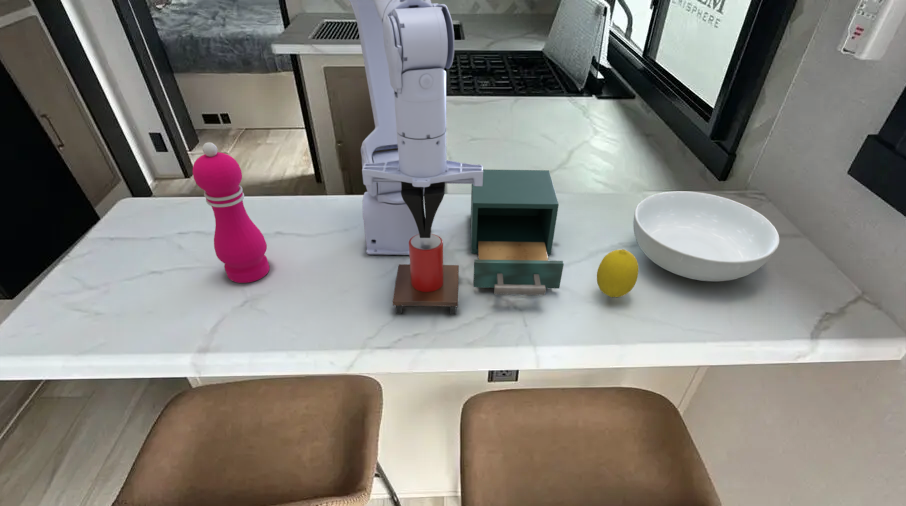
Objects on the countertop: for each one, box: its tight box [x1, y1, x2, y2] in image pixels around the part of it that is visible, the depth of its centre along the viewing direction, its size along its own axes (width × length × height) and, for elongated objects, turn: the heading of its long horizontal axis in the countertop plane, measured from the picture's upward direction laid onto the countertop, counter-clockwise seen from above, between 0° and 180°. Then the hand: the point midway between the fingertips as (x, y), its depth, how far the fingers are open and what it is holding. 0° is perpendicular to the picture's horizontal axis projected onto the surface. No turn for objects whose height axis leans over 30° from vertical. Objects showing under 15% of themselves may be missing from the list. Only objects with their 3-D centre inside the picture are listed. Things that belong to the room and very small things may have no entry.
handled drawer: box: [472, 241, 565, 296], centre depth 76 cm, size 13×16×4 cm
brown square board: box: [392, 263, 460, 315], centre depth 74 cm, size 9×9×2 cm
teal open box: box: [470, 168, 559, 255], centre depth 85 cm, size 13×12×9 cm
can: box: [408, 233, 444, 292], centre depth 71 cm, size 5×5×7 cm
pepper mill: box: [192, 141, 270, 284], centre depth 72 cm, size 7×7×20 cm
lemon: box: [596, 248, 639, 298], centre depth 72 cm, size 6×6×8 cm
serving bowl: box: [632, 190, 780, 282], centre depth 80 cm, size 21×21×7 cm
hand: (425, 234), depth 68 cm, fingers closed
